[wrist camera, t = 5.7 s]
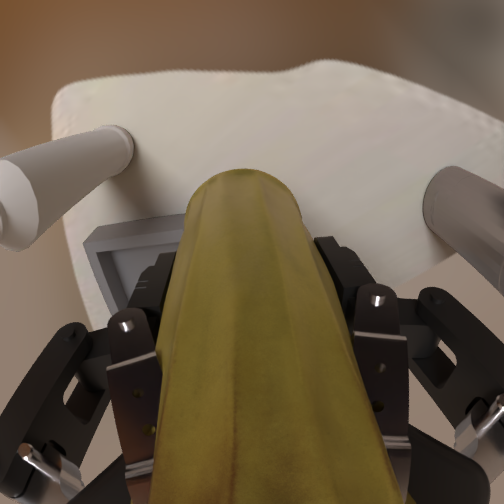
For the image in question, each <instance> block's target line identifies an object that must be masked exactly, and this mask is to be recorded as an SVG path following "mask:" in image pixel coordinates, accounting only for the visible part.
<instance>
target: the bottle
mask: <svg viewBox="0 0 504 504" xmlns="http://www.w3.org/2000/svg"><path fill="white" fill-rule="evenodd" d="M133 150H134V144H133V141H132V138H131V136H130V134H129V133H128V132H127V131H126V130H125V129H123V128H121V127H119V126H117V125H103V126H100V127H98V128H96V129H94V130H93V131H89V132H85V133H80V134H76V135H72V136H68V137H65V138H61V139H57V140H54V141H50V142H47V143H43V144H40V145H37V146H34V147H31V148H28V149H25V150H22V151H19V152H16V153H13V154H10V155H7V156H5V157H2V158H0V246H2V247H3V248H5V249H6V250H11V251H16V252H19V251H22V250H24V249H26V248H29V247H30V246H31V245H32V244H33V243H34V242H35V241H36V240H37V239H38V238H39V237H40V236H41V235H42V234H43V233H44V232H45V231H46V230H47V229H48V228H49V227H51V226H52V225H53V224H54V223H55V222H56V221H57V220H58V219H59V218H60V217H62V216H63V215H64V214H65V213H66V212H67V211H68V210H70V209H71V208H72V207H73V206H74V205H75V204H77V203H78V202H79V201H80V200H81V199H83V198H84V197H85V196H86V195H87V194H89V193H90V192H91V191H92V190H94V189H95V188H96V187H97V186H99V185H100V184H101V183H103V182H104V181H105V180H106V179H108V178H110V177H112V176H115V175H118V174H119V173H121V172H122V171H123V170H124V169H125V168H126V167H127V166H128V165H129V163H130V161H131V158H132V156H133Z"/></svg>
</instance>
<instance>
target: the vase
mask: <svg viewBox="0 0 504 504" xmlns="http://www.w3.org/2000/svg"><path fill="white" fill-rule="evenodd" d="M155 351H156V353H157V356H158V360H159V363H160V367H161V370H162V374H163V377H162V386H161V395H160V404H159V412H158V422H157V431H156V441H155V450H154V463H153V470H152V477H151V484H150V492H149V499H148V504H404V503H403V498H402V495H401V492H400V488H399V485H398V482H397V479H396V477H395V474H394V471H393V468H392V465H391V462H390V459H389V456H388V453H387V450H386V447H385V443H384V440H383V437H382V434H381V432H380V429H379V426H378V423H377V421H376V418H375V415H374V412H373V409H372V406H371V403H370V401H369V398H368V395H367V392H366V389H365V386H364V383H363V380H362V377H361V374H360V371H359V368H358V364H357V361H356V358H355V355H354V352H353V345H352V337H351V335H350V332H349V330H348V327H347V324H346V321H345V317H344V314H343V311H342V308H341V305H340V301H339V298H338V295H337V292H336V289H335V286H334V283H333V280H332V278H331V276H330V274H329V271H328V269H327V267H326V265H325V263H324V261H323V259H322V257H321V255H320V253H319V251H318V249H317V247H316V245H315V243H314V241H313V239H312V237H311V235H310V233H309V232H308V230H307V228H306V227H305V225H304V224H303V222H302V216H301V212H300V209H299V206H298V204H297V201H296V199H295V198H294V196H293V194H292V193H291V191H290V190H289V189H288V188H287V186H286V185H285V184H283V183H282V182H281V181H280V180H278V179H277V178H275V177H273V176H271V175H270V174H267V173H265V172H262V171H259V170H254V169H234V170H229V171H225V172H222V173H219V174H217V175H215V176H213V177H211V178H210V179H208V180H207V181H206V182H204V183H203V184H202V185H201V186H200V187H199V188H198V189H197V190H196V191H195V193H194V194H193V196H192V197H191V199H190V201H189V203H188V206H187V209H186V213H185V219H184V232H183V234H182V237H181V240H180V243H179V246H178V249H177V252H176V257H175V261H174V265H173V269H172V274H171V279H170V283H169V287H168V291H167V294H166V299H165V303H164V308H163V313H162V318H161V323H160V328H159V333H158V338H157V343H156V348H155ZM154 432H155V427H153V428H152V429H151V430H150V431H149V433H148V435H147V436H150V435H152V434H154ZM131 504H133V503H132V500H131ZM405 504H416V502H415V501H414V500H413V498H412V497H411V495H410V494H409V493H408V491H407V497H406V502H405Z"/></svg>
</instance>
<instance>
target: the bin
mask: <svg viewBox="0 0 504 504" xmlns="http://www.w3.org/2000/svg"><path fill="white" fill-rule="evenodd" d="M184 219H185V214H177V215H170V216H163V217H156V218H149V219H142V220H136V221H129V222H123V223H117V224H111V225H105V226H99V227H97V228H96V229H95V230H94V231H93V232H92V233H91V234H90V236H89V237H88V238H87V239H86V240H85V241H84V242H83V246H84V248H85V251H86V254H87V257H88V260H89V262H90V265H91V268H92V270H93V273H94V275H95V278H96V280H97V283H98V285H99V288H100V290H101V293H102V295H103V297H104V300H105V302H106V304H107V306H108V309H109V311H110V313H111V315H112V316H113V315H114V314H115V313H117V312H118V311H120V310H123V309H126V307H127V305H128V303H129V300H130V298H131V295H132V293H133V291H134V289H135V286H136V284H137V283H138V279H139V277H140V275H141V273H142V272H143V271H144V270H145V269H146V268H147V267H148V266H154V265H155V263H156V260H157V258H158V255H159V254H160V253H165V252H175V251H177V249H178V246H179V243H180V240H181V237H182V234H183V232H184Z"/></svg>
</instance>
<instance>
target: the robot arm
mask: <svg viewBox="0 0 504 504" xmlns="http://www.w3.org/2000/svg"><path fill="white" fill-rule="evenodd" d="M423 213H424V218H425V221H426V224H427V225H428V227H429V228H430V229H431V230H432V231H433V232H434V233H435V234H437V235H438V236H439V237H440V238H442V239H443V240H444V241H445V242H446V243H447V244H448V245H450V246H451V247H452V248H453V249H454V250H455V251H456V252H458V253H459V254H460V255H461V256H462V257H463V258H464V259H466V260H467V261H468V262H469V263H470V264H471V265H472V266H473V267H474V268H475V269H476V270H477V271H478V272H479V273H480V274H482V275H483V276H484V277H485V278H486V279H487V280H488V281H489V282H490V283H491V284H492V285H493V286H494V287H495V288H496V289H497V290H498V291H499V292H500V293H501V294H502V295H503V296H504V189H503V188H501V187H499V186H497V185H495V184H493V183H491V182H489V181H487V180H485V179H483V178H481V177H480V176H477V175H475V174H473V173H471V172H469V171H466V170H464V169H462V168H460V167H457V166H450V167H446V168H444V169H443V170H441V171H440V172H439V173H437V174H436V175H435V177H434V178H433V179H432V180H431V182H430V184H429V186H428V188H427V191H426V193H425V197H424V202H423ZM314 243H315V245H316V247H317V249H318V251H319V253H320V255H321V257H322V259H323V261H324V263H325V265H326V267H327V269H328V271H329V274H330V276H331V278H332V280H333V283H334V286H335V289H336V292H337V295H338V298H339V301H340V305H341V308H342V311H343V314H344V317H345V321H346V324H347V327H348V330H349V332H350V335H351V337H352V345H353V352H354V355H355V358H356V361H357V364H358V368H359V371H360V374H361V377H362V380H363V383H364V386H365V389H366V392H367V395H368V398H369V401H370V403H371V406H372V409H373V412H374V415H375V418H376V421H377V423H378V426H379V429H380V432H381V434H382V437H383V440H384V443H385V447H386V450H387V453H388V456H389V459H390V462H391V465H392V468H393V471H394V474H395V477H396V479H397V482H398V485H399V488H400V492H401V495H402V498H403V503H404V504H405V502H406V497H407V491H408V493H409V494H410V495H411V497H412V498H413V500H414V501H415V502H416V504H489V501H490V484H491V483H492V482H493V481H494V480H495V479H496V478H497V477H498V476H499V475H500V474H501V473H502V472H503V471H504V344H503V343H502V342H501V341H500V340H499V339H498V338H497V337H496V336H495V335H494V334H493V333H492V332H491V331H490V330H489V329H488V328H487V327H486V326H485V325H484V324H483V323H482V322H481V321H480V320H478V319H477V318H476V317H475V316H474V315H473V314H472V313H471V312H470V311H469V310H468V309H466V308H465V307H464V306H463V305H462V304H461V303H460V302H459V301H457V300H456V299H455V298H454V297H453V296H452V295H450V294H449V293H448V292H447V291H445V290H443V289H440V288H436V287H427V288H424V289H422V290H421V291H420V294H419V296H418V299H402V298H397V295H396V293H395V292H394V291H393V290H392V289H391V288H390V287H388V286H385V285H383V284H378V283H376V282H375V280H374V279H373V277H372V276H371V274H370V273H369V271H368V270H367V269H366V267H365V266H364V264H363V263H362V262H361V260H360V259H359V257H358V256H357V255H356V253H355V252H354V251H352V250H350V249H349V248H347V247H340V246H339V245H338V243H337V242H336V240H335V239H334V237H333V236H328V237H317V238H314ZM176 252H177V251H175V252H165V253H160V254H159V255H158V258H157V260H156V263H155V265H154V266H148V267H147V268H146V269H145V270H144V271H143V272H142V273H141V275H140V277H139V279H138V283H137V284H136V286H135V289H134V291H133V293H132V295H131V298H130V300H129V303H128V305H127V307H126V309H123V310H120V311H118V312H117V313H115V314H114V315H113V316H112V317H111V318H110V319H109V321H108V324H107V328H104V329H100V330H96V331H93V332H88V330H87V329H86V327H85V325H83V324H82V323H79V322H73V323H69V324H67V325H65V326H63V327H62V328H60V329H59V330H58V331H57V333H56V334H55V335H54V336H53V338H52V339H51V340H50V342H49V343H48V344H47V346H46V347H45V349H44V350H43V352H42V353H41V354H40V356H39V357H38V358H37V360H36V361H35V363H34V364H33V365H32V367H31V369H30V370H29V371H28V373H27V374H26V376H25V377H24V379H23V380H22V382H21V384H20V385H19V386H18V388H17V390H16V391H15V393H14V394H13V396H12V398H11V399H10V401H9V402H8V404H7V406H6V408H5V409H4V411H3V412H2V414H1V416H0V492H1V493H2V494H4V495H5V496H6V497H8V498H9V499H11V500H13V501H15V502H17V503H19V504H131V500H132V503H133V504H148V499H149V492H150V484H151V477H152V470H153V463H154V450H155V441H156V431H157V422H158V412H159V404H160V395H161V386H162V377H163V374H162V370H161V367H160V363H159V360H158V356H157V353H156V351H155V348H156V343H157V338H158V333H159V328H160V323H161V318H162V313H163V308H164V303H165V299H166V294H167V291H168V287H169V283H170V279H171V274H172V269H173V265H174V261H175V257H176ZM440 340H442V341H443V342H444V343H445V344H446V345H447V346H448V347H449V348H450V349H451V351H452V352H453V353H454V354H455V356H456V359H457V365H456V366H455V365H454V363H453V362H452V361H451V360H450V359H449V358H448V357H447V356H446V355H445V353H444V352H443V351H442V350H441V349H440V348H439V347H438V344H439V342H440ZM409 369H410V370H411V372H412V373H413V374H414V376H415V377H416V378H417V379H418V381H419V382H420V383H421V385H422V386H423V387H424V389H425V390H426V391H427V392H428V394H429V395H430V396H431V397H432V399H433V400H434V402H435V403H436V404H437V406H438V407H439V408H440V410H441V411H442V412H443V414H444V415H445V416H446V418H447V419H448V420H449V422H450V423H451V425H452V426H453V427H454V429H455V443H454V449H452V448H451V447H449V446H447V445H445V444H443V443H441V442H440V441H438V440H436V439H434V438H433V437H431V436H429V435H427V434H425V433H424V432H422V431H420V430H419V429H417V428H415V427H414V426H412V425H410V424H409ZM74 375H75V377H76V378H77V379H78V381H79V382H78V383H77V385H76V387H75V389H74V391H73V392H72V394H71V396H70V398H69V399H68V401H67V403H66V405H64V402H63V395H64V392H65V390H66V388H67V387H68V385H69V383H70V382H71V380H72V378H73V377H74ZM110 400H111V403H112V408H113V413H114V418H115V423H116V428H117V432H118V436H119V440H120V445H121V449H122V454H121V455H120V456H119V457H118V458H117V459H116V460H115V461H114V462H112V463H111V464H110V465H109V466H108V467H107V468H106V469H105V470H104V471H103V472H102V473H100V474H99V475H98V476H97V477H96V478H95V479H94V480H93V481H92V482H90V483H89V484H88V485H87V486H86V487H85V488H84V483H83V481H82V480H81V473H80V470H79V468H80V465H81V463H82V461H83V458H84V456H85V454H86V452H87V449H88V447H89V445H90V443H91V440H92V438H93V436H94V434H95V431H96V429H97V427H98V425H99V423H100V421H101V418H102V416H103V414H104V412H105V410H106V407H107V406H108V404H109V402H110ZM153 427H155V432H154V434H152V435H150V436H147V435H148V433H149V431H150V430H151V429H152V428H153Z"/></svg>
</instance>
